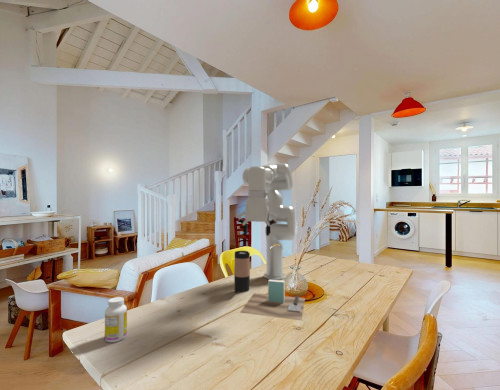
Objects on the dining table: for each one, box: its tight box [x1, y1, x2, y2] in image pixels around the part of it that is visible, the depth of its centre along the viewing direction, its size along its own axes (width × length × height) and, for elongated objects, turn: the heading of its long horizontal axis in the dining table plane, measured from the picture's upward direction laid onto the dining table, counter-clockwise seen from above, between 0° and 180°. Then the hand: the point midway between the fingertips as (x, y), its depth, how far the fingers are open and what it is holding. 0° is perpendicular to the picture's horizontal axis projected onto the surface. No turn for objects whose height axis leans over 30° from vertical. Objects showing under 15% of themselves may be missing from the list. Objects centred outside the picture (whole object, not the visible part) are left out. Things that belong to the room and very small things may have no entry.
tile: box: [267, 279, 286, 303], centre depth 115 cm, size 2×7×9 cm, turn 75°
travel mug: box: [233, 250, 251, 294], centre depth 130 cm, size 8×8×20 cm
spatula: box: [287, 295, 301, 312], centre depth 112 cm, size 15×5×1 cm, turn 164°
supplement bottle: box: [104, 296, 128, 343], centre depth 88 cm, size 7×7×13 cm
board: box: [240, 292, 306, 321], centre depth 112 cm, size 22×24×2 cm
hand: (256, 234), depth 113 cm, fingers open, 9 cm apart
